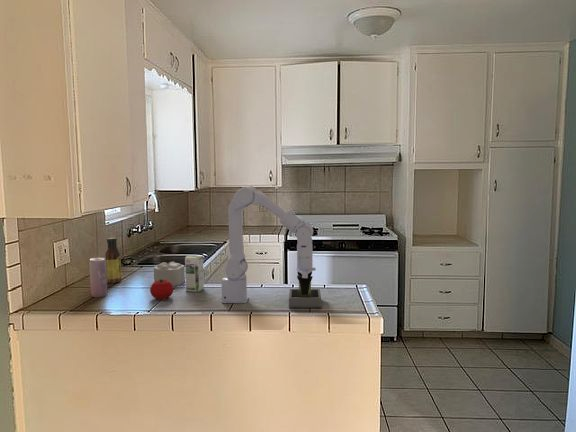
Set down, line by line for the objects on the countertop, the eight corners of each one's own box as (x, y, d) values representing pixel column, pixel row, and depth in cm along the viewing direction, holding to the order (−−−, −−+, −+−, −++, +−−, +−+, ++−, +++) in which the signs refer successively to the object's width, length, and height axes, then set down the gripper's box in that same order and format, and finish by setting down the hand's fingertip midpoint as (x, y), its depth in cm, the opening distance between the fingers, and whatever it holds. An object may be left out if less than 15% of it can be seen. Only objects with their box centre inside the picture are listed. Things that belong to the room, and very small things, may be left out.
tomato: (145, 300, 168) (144, 280, 167) (160, 294, 176) (159, 275, 175) (164, 303, 164) (163, 282, 163) (178, 296, 172) (177, 276, 172)
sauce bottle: (123, 282, 195) (121, 238, 193) (108, 284, 191) (106, 239, 189) (119, 279, 200) (117, 236, 198) (105, 281, 197) (103, 238, 195)
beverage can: (102, 292, 179) (100, 256, 177) (110, 294, 176) (108, 258, 174) (88, 295, 174) (86, 259, 173) (96, 298, 171) (94, 261, 169)
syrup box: (185, 291, 180) (184, 257, 178) (192, 287, 185) (191, 254, 184) (197, 292, 178) (196, 257, 176) (204, 288, 184) (203, 254, 182)
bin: (288, 308, 157) (288, 298, 156) (289, 298, 168) (289, 288, 168) (321, 308, 156) (321, 298, 156) (319, 299, 168) (319, 289, 167)
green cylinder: (298, 298, 160) (298, 282, 159) (298, 294, 164) (298, 279, 164) (311, 298, 160) (311, 282, 159) (310, 294, 164) (310, 279, 163)
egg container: (176, 286, 188) (176, 266, 187) (149, 284, 190) (148, 265, 189) (187, 280, 198) (186, 261, 197) (160, 278, 200) (159, 260, 199)
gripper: (316, 260, 153) (316, 298, 154) (315, 252, 167) (315, 286, 169) (296, 260, 153) (296, 298, 155) (296, 252, 167) (296, 286, 169)
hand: (304, 292), depth 162 cm, fingers closed on green cylinder, 4 cm apart
